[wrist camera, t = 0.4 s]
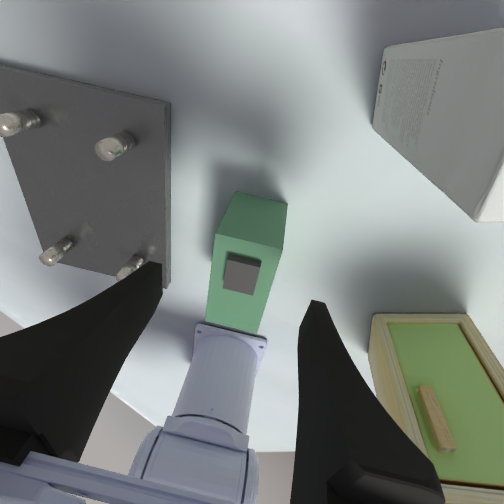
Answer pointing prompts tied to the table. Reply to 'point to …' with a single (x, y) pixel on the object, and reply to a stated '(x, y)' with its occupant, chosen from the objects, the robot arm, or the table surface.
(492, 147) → the skincare box
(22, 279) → the table surface
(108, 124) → the plate
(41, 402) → the robot arm
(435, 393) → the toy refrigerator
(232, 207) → the circuit block
